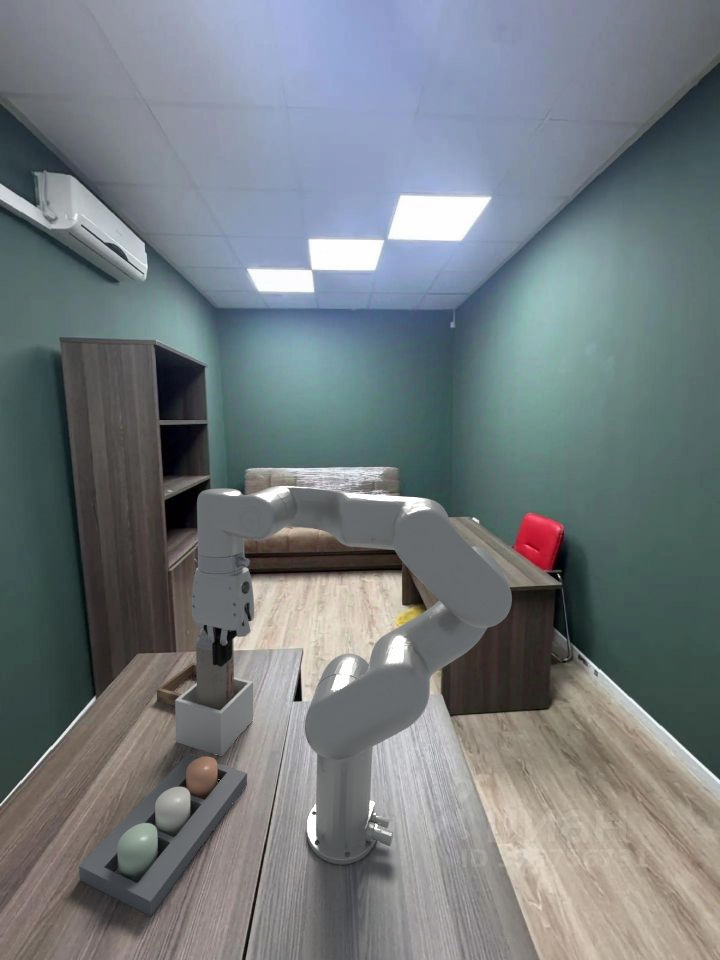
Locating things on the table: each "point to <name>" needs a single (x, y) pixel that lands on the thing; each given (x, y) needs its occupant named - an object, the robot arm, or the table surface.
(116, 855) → the pebble holder tray
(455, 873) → the table surface
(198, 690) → the thermos bottle
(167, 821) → the cream egg
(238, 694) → the grey open box
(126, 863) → the sage egg
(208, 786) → the terracotta egg
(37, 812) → the table surface
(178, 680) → the walnut deck tray
